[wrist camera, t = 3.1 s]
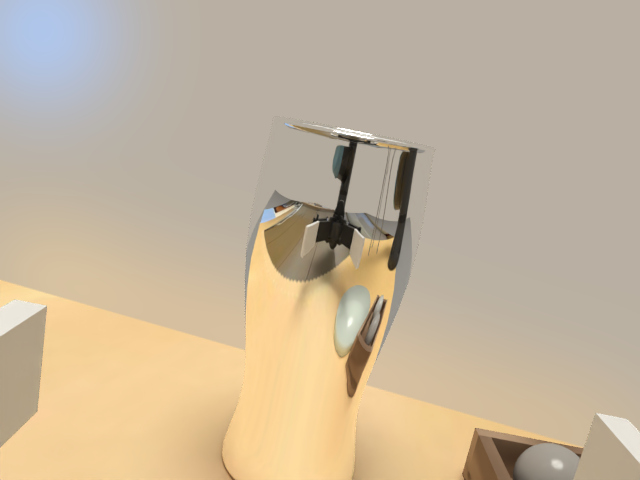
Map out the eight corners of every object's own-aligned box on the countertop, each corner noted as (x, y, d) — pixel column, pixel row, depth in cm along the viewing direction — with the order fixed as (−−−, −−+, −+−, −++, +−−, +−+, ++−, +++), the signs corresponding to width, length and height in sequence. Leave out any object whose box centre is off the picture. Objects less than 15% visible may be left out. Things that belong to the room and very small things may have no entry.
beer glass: (356, 429, 29) (421, 143, 26) (370, 525, 22) (461, 155, 19) (223, 407, 29) (273, 114, 25) (197, 499, 22) (260, 116, 19)
